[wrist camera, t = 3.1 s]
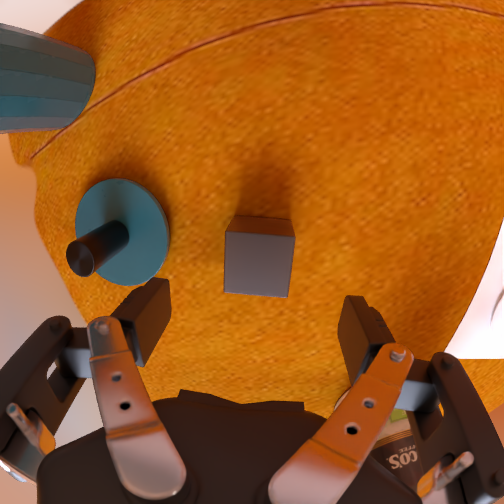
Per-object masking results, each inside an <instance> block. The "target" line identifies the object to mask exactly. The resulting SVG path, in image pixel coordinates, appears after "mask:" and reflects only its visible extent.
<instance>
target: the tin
mask: <svg viewBox="0 0 504 504" xmlns="http://www.w3.org/2000/svg"><path fill="white" fill-rule="evenodd" d="M94 82H95V65H94V62H93V59H92V57H91V56H90V55H89V54H88V53H87V52H86V51H84V50H82V49H81V48H79V47H76V46H73V45H71V44H68V43H65V42H62V41H60V40H57V39H54V38H51V37H48V36H45V35H42V34H39V33H35V32H32V31H29V30H25V29H22V28H18V27H14V26H10V25H6V24H2V23H0V134H4V133H15V132H30V131H51V130H57V129H61V128H64V127H66V126H68V125H69V124H71V123H72V122H73V121H74V120H75V119H76V118H77V117H78V116H79V115H80V114H81V112H82V111H83V109H84V108H85V106H86V104H87V102H88V101H89V98H90V96H91V93H92V90H93V87H94Z"/></svg>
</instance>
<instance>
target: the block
mask: <svg viewBox="0 0 504 504" xmlns="http://www.w3.org/2000/svg"><path fill="white" fill-rule="evenodd" d="M294 245H295V234H294V230H293V226H292V223H291V220H287V219H276V218H264V217H251V216H238V215H234V217H233V219H232V221H231V222H230V224H229V226H228V228H227V230H226V231H225V257H224V292H226V293H236V294H247V295H258V296H270V297H283V298H287V297H288V292H289V285H290V277H291V270H292V262H293V254H294Z"/></svg>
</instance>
